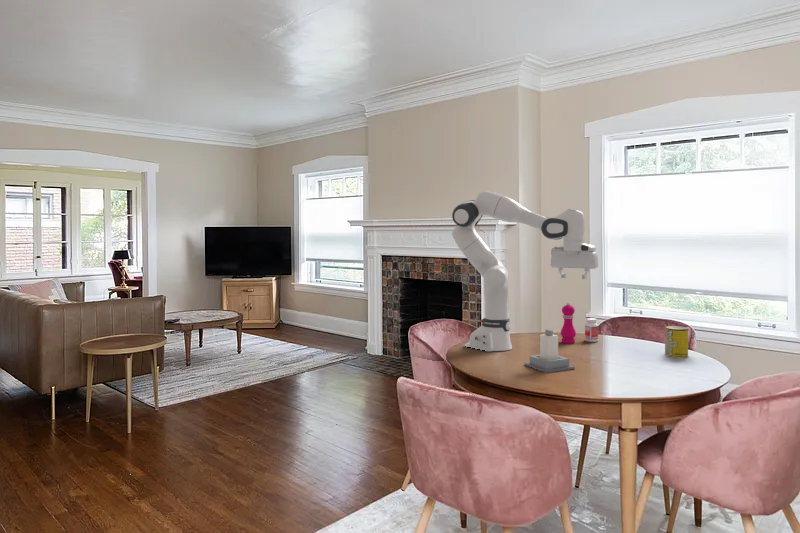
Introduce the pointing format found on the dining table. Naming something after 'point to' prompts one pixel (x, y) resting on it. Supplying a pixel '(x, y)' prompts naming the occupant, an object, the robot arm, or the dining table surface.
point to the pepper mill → (568, 324)
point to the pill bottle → (591, 330)
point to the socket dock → (549, 364)
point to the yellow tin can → (676, 341)
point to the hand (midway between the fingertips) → (573, 278)
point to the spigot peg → (548, 346)
